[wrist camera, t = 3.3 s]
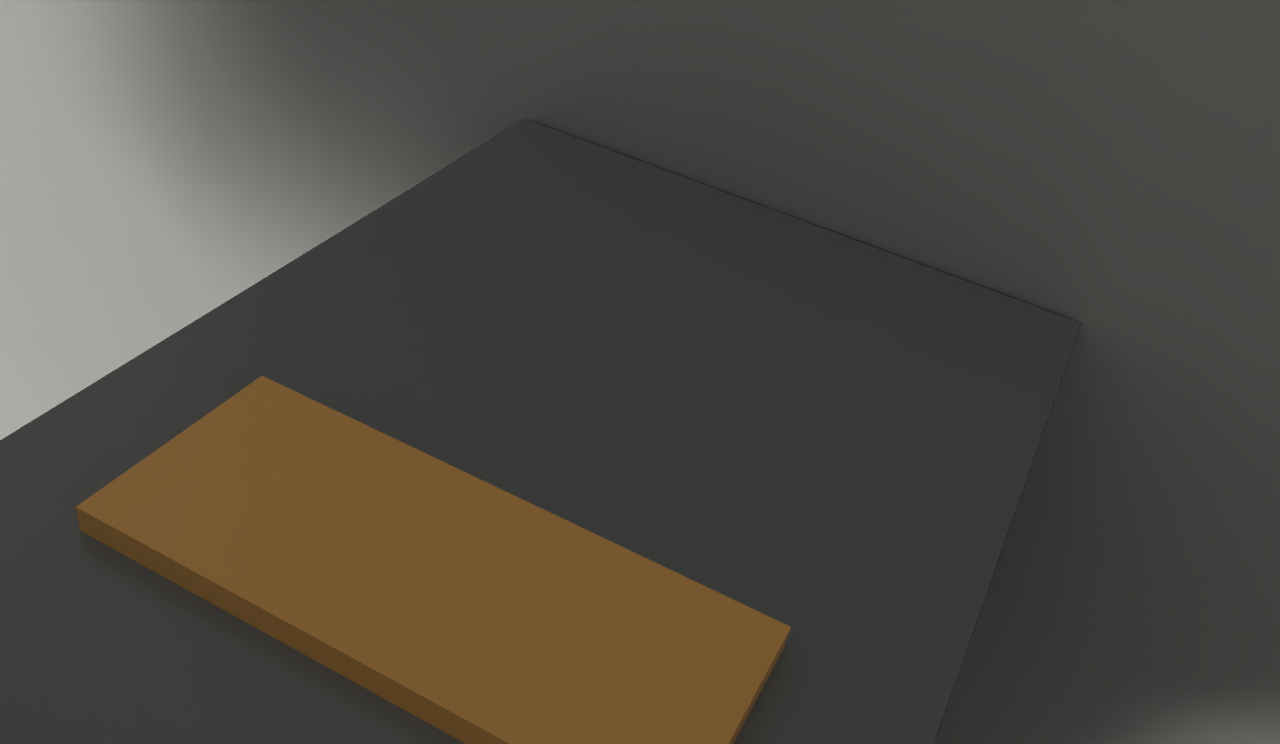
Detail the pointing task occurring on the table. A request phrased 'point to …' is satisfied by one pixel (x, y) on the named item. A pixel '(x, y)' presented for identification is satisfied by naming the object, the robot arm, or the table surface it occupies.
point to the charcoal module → (531, 482)
